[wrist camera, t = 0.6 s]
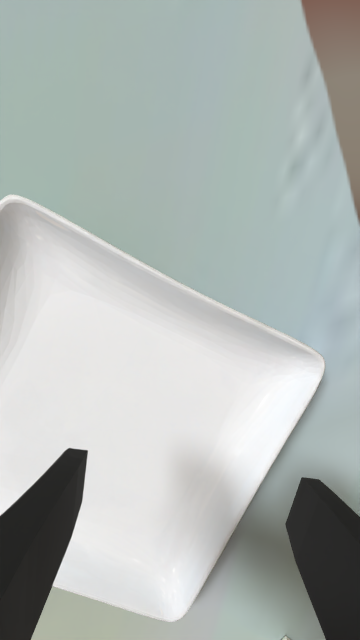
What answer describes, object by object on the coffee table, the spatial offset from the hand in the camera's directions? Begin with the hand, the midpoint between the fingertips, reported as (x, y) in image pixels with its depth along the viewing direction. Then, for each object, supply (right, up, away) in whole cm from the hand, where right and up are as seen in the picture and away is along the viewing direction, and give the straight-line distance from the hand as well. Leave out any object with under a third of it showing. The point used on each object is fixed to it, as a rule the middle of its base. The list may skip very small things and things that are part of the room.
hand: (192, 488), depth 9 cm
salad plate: (-5, -1, +11) cm, 12 cm away
